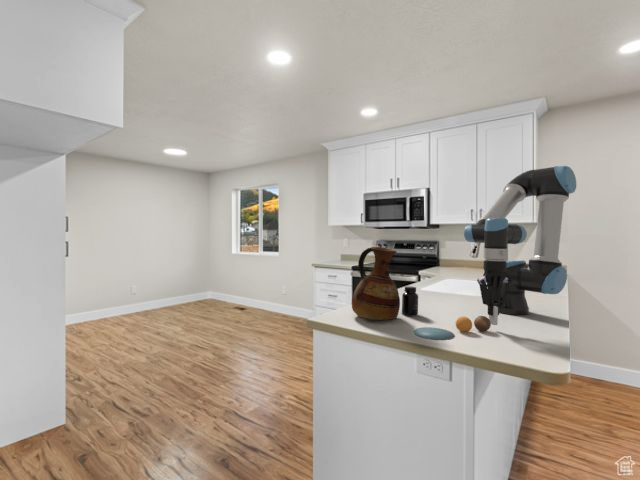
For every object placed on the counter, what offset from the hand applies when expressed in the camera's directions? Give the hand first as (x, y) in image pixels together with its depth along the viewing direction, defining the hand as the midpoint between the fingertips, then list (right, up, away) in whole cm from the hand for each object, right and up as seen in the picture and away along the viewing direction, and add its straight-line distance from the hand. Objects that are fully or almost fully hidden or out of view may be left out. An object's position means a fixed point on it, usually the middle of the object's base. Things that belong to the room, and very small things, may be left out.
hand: (493, 323), depth 124 cm
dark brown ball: (-4, 0, -1) cm, 4 cm away
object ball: (-12, 0, -2) cm, 12 cm away
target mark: (-23, -2, -4) cm, 24 cm away
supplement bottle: (-24, -2, +23) cm, 34 cm away
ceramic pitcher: (-41, -2, +17) cm, 44 cm away
